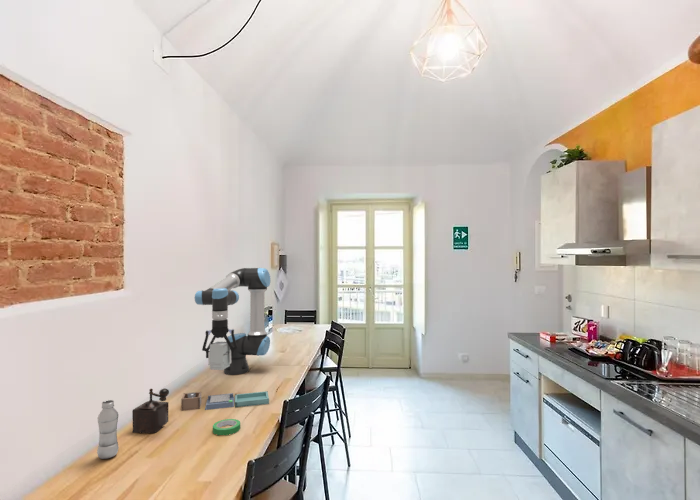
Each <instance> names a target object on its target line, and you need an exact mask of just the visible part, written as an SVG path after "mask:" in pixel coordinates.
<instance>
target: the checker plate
mask: <svg viewBox="0 0 700 500" xmlns="http://www.w3.org/2000/svg"><path fill="white" fill-rule="evenodd" d="M225 394H226V395H220V394H215V395H216V396H211V399H210V404H211V403H220V402H229V400H230V393H225Z"/></svg>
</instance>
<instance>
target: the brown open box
mask: <svg viewBox="0 0 700 500" xmlns="http://www.w3.org/2000/svg"><path fill="white" fill-rule="evenodd" d="M188 393H189V392H185V393H183V395H182V397H181V400H180V403H181V409H180V410H181V411H190V410H200V409H201V405H202V391H196V392H194V393H196V397H194V398H188Z"/></svg>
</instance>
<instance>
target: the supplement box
mask: <svg viewBox="0 0 700 500" xmlns="http://www.w3.org/2000/svg"><path fill="white" fill-rule="evenodd" d="M209 344H210V343H209ZM209 351H210V365H209V370H214V371H224V369H225V368H227V367H229V366H230V347H229V345H228V343H227V342H226V341H216V342H213V344H210V349H209Z"/></svg>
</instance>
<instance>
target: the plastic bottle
mask: <svg viewBox="0 0 700 500" xmlns="http://www.w3.org/2000/svg"><path fill="white" fill-rule="evenodd" d="M114 403H115V401H114V400H113V399H110V400H109V399H108V400H105V401H102V402H101V411H100V412H99V414H98V417H97V426H98V432H99V437H98V445H97V450H96V451H97V452H96V453H97V457H98V458H99V459H101V460H102V459H103V460H107V459H111V458H113V457H115V456H116V455H117V454H118V452H119V442H118V436H117V431H118V421H119V412H118V411H117V409H115V404H114Z"/></svg>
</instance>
